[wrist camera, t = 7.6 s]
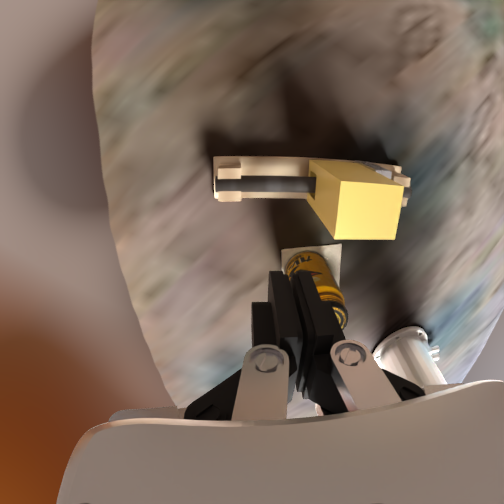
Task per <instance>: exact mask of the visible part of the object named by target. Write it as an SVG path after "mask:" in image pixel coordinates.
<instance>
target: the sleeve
mask: <svg viewBox="0 0 504 504" xmlns="http://www.w3.org/2000/svg"><path fill="white" fill-rule="evenodd" d="M308 177H316V191H315V193H307V202H308V203H309V204H310V206H311V207H312V208H313V210H314V211H315V213H316V214H317V215H318V217H319V218H320V220H321V221H322V222H323V224H324V225H325V227H326V228H327V230H328V231H329V232H330V234H331V235H332V237H333V238H334V239H368V240H395V235H396V231H397V226H398V220H399V215H400V209H401V203H402V197H403V191H404V186H403V185H401V184H399V183H397V182H395V181H393V180H391V179H389V178H387V177H385V176H383V175H381V174H379V173H377V172H375V171H373V170H371V169H369V168H367V167H365V166H363V165H360V164H358V163H352V162H340V161H326V160H309V174H308Z"/></svg>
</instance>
